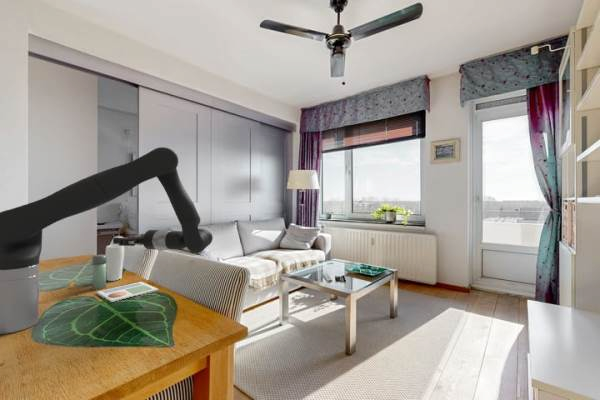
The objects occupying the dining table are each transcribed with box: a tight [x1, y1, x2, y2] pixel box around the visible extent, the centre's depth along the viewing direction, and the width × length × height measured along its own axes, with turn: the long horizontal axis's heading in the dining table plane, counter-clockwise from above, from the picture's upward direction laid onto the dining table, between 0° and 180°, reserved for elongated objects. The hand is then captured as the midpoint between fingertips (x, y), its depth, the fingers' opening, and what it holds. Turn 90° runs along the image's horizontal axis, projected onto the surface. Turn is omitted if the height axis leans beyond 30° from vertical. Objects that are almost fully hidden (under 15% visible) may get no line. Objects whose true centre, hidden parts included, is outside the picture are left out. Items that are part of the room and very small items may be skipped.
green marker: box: [91, 254, 107, 291], centre depth 108 cm, size 5×5×13 cm
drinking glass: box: [105, 244, 125, 282], centre depth 118 cm, size 7×7×15 cm
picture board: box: [96, 281, 159, 303], centre depth 104 cm, size 16×14×1 cm
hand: (122, 238), depth 106 cm, fingers open, 8 cm apart
